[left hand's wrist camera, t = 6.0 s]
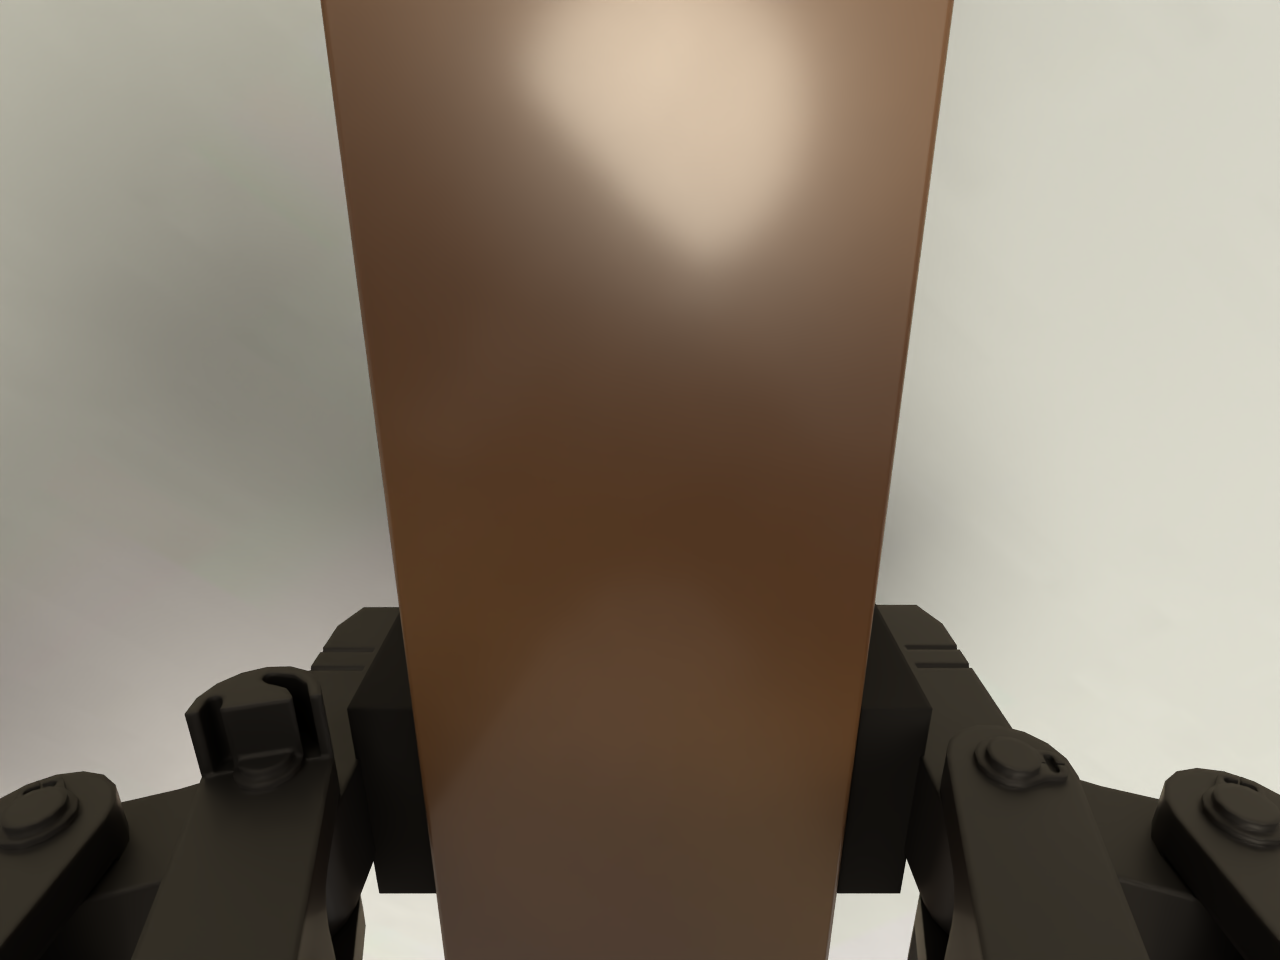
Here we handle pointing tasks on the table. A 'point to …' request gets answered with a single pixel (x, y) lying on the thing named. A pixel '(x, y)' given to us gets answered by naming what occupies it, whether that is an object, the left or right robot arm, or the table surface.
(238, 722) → the left robot arm
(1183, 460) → the table surface
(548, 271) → the post
